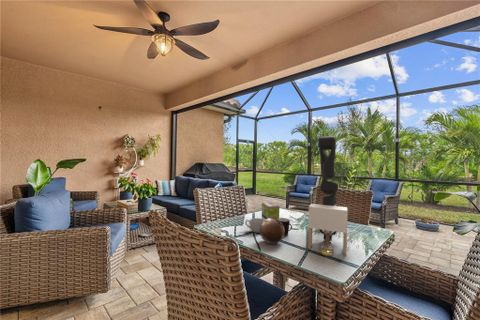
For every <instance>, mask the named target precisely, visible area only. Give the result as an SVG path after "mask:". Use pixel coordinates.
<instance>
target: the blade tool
mask: <svg viewBox="0 0 480 320" xmlns="http://www.w3.org/2000/svg"><path fill="white" fill-rule="evenodd" d="M321 249H329V250H331V251H332V254H333V253H334V248H333V247H332V241H330V231H329V230H326V237H325V240H323V243H322V245H320V246H319V251H320V252H321Z"/></svg>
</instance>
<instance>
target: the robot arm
mask: <svg viewBox="0 0 480 320" xmlns="http://www.w3.org/2000/svg"><path fill="white" fill-rule="evenodd" d="M317 141H318V142H317V144H318V152H319V157H320V172H321V182H320V184H319V189H320V191H321V192H322V193H323V194H324V196H322V205H329V206H337V197H338V190H339V183H338V182H337V181H333V180H332V179H334V178H335V175H336V174H335V159H336V152H337V151H336V149H337V148H336V147H337V140H336V137H335V136H334V135H327V136H320V137H319V138H318V140H317ZM329 150H330V153H329V155H328V154H327V153H326V151H329ZM318 230H319V232H320V234H323V241H325V237H326V230H322V229H318ZM336 234H337V232H336V231H330V242H332V240H333V236H335V235H336Z"/></svg>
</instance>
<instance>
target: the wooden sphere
mask: <svg viewBox="0 0 480 320" xmlns="http://www.w3.org/2000/svg"><path fill="white" fill-rule="evenodd" d="M284 233H285V230H284V226H283V224H282V223H281V222H280V221H279V220H278V219H276V218H268V219H266V220H264V221H263V222H262V223H261V225H260V233H259V235H260V237H261V238H262V240H263V241H264V242H266V243H268V244H271V245H274V244H277V243H279V242H280V241H282V240H283V238H284V237H285V236H284Z"/></svg>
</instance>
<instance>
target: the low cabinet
mask: <svg viewBox="0 0 480 320" xmlns="http://www.w3.org/2000/svg"><path fill="white" fill-rule="evenodd" d="M313 229H314V230H319V229H322V230H323V231H324V230H329V231H332V232H334V231H336V233H337V232H338V233H343V236H342V237H343V239H342V240H343V241H342V242H343V243H342V251H343V255H344V256H347V249H348V245H347V243H348V240H347V239H348V207H347V206H337V205H336V206H329V205H323V204H319V203H318V204H316V203H310V205H309V206H308V235H307V236H308V237H307V239H308V240H307V249H308V250H311V249H312V245H313Z"/></svg>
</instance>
